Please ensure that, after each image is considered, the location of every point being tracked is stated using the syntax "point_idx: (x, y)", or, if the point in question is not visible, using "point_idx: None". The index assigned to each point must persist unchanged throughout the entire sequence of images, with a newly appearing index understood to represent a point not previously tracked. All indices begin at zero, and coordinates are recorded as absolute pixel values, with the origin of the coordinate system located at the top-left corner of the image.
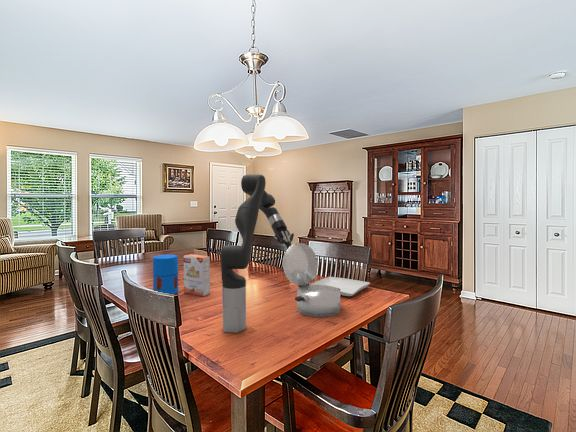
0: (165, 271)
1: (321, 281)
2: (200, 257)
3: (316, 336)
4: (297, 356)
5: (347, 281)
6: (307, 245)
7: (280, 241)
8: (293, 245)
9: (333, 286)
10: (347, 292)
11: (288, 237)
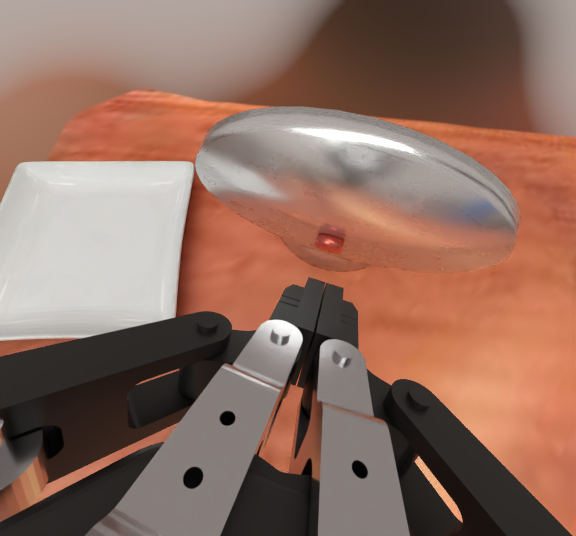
0: None
1: (54, 331)
2: None
3: (478, 146)
4: (566, 136)
5: (4, 245)
6: (244, 113)
7: (412, 498)
8: (449, 155)
9: (76, 278)
10: (140, 205)
11: (250, 375)
